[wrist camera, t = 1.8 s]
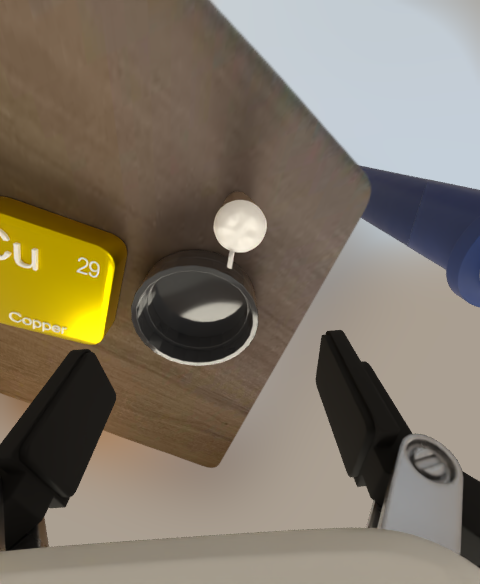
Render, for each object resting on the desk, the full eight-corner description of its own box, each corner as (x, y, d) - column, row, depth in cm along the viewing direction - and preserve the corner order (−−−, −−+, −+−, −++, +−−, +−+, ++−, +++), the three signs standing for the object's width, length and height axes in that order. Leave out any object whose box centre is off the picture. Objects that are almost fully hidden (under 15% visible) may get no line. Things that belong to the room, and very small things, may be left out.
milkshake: (211, 225, 29) (203, 260, 21) (224, 178, 27) (221, 197, 18) (247, 237, 30) (253, 275, 22) (264, 193, 28) (278, 217, 19)
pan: (252, 244, 31) (256, 260, 26) (256, 337, 39) (259, 361, 34) (129, 252, 31) (113, 270, 27) (158, 344, 39) (149, 369, 35)
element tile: (-1, 297, 34) (-33, 319, 30) (-12, 188, 26) (-57, 197, 22) (113, 328, 37) (99, 352, 33) (131, 239, 30) (115, 254, 26)
